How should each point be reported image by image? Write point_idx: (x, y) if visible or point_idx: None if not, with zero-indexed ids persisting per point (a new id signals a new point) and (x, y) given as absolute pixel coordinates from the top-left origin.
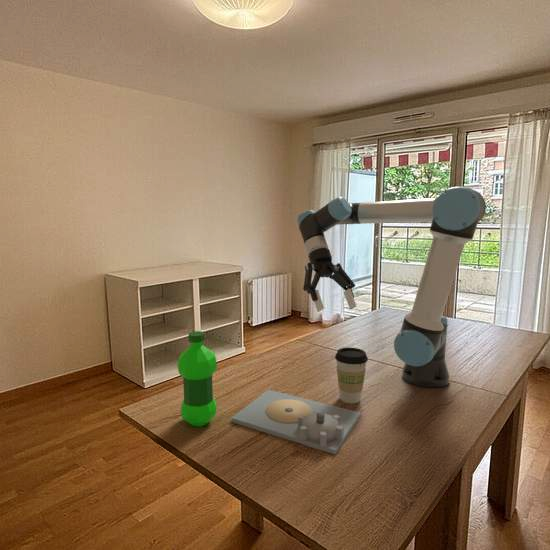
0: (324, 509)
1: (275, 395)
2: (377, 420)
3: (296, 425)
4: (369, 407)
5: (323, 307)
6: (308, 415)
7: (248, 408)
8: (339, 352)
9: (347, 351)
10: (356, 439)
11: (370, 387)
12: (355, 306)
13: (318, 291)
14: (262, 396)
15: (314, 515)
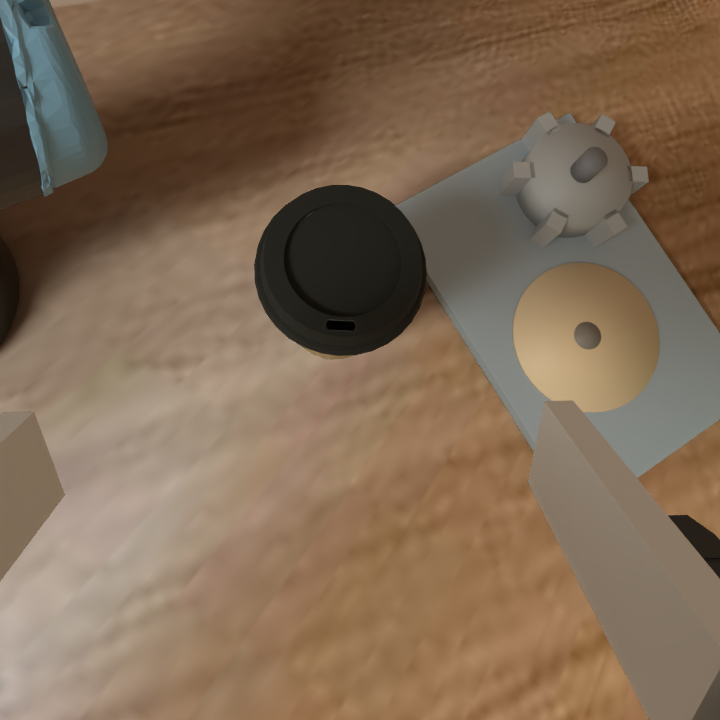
0: (673, 16)
1: None
2: (354, 174)
3: (603, 254)
4: None
5: (552, 407)
6: (594, 218)
7: (695, 418)
8: (406, 290)
9: (338, 300)
10: (475, 139)
11: (195, 353)
12: (20, 417)
13: (696, 607)
14: None
15: (696, 16)
